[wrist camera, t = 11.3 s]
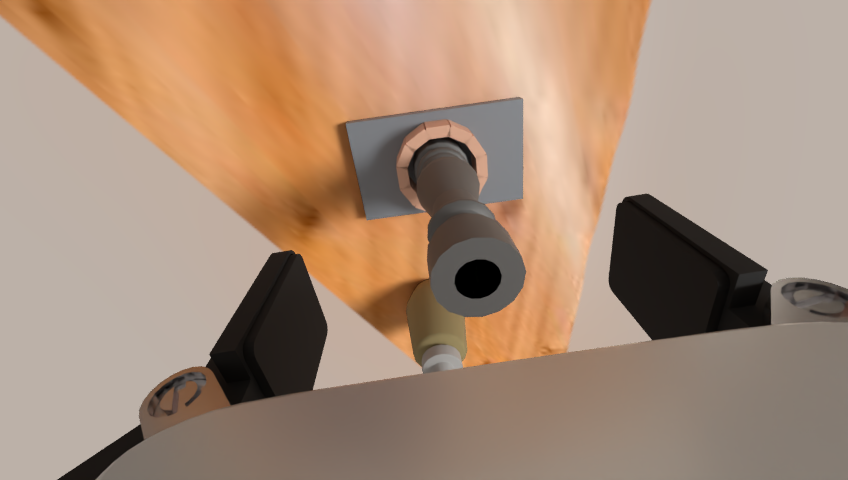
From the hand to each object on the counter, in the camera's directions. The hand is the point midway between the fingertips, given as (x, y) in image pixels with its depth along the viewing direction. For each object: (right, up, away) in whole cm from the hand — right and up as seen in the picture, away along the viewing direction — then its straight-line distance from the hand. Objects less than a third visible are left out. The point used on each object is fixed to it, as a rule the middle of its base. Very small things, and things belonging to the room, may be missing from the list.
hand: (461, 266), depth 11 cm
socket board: (+1, +11, +34) cm, 36 cm away
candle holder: (+1, +10, +33) cm, 34 cm away
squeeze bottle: (0, -7, +44) cm, 44 cm away
